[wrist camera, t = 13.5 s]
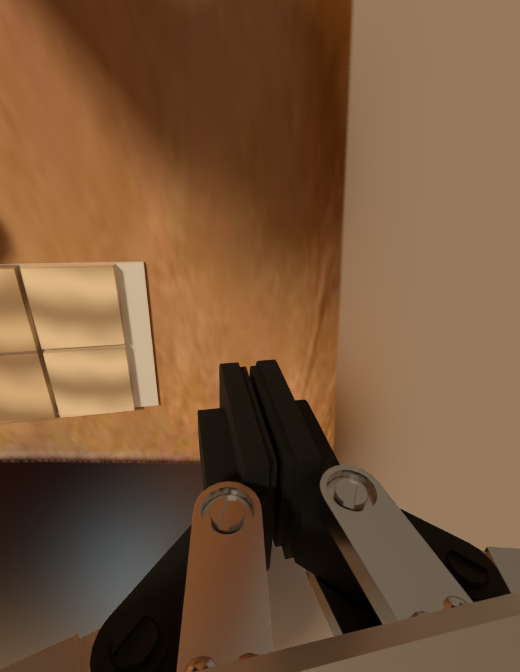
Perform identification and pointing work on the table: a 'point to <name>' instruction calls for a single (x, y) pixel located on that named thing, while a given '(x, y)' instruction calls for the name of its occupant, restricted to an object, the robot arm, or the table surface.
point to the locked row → (21, 356)
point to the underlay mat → (132, 328)
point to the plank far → (90, 379)
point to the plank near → (75, 304)
